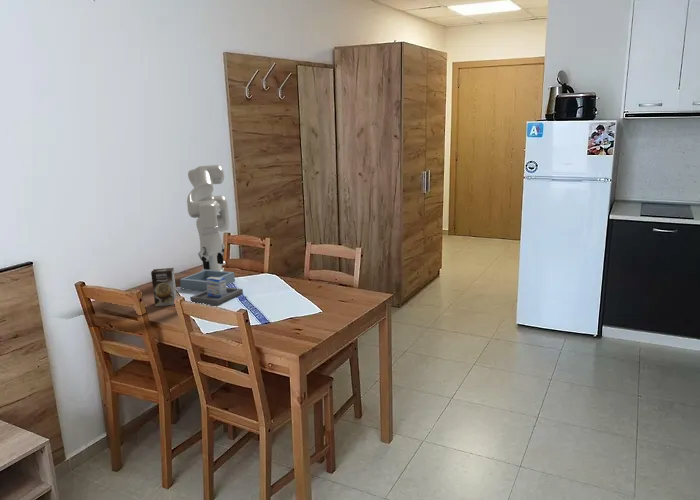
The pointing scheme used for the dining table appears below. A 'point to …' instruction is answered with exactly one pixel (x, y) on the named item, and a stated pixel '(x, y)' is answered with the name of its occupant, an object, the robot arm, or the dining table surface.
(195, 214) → the robot arm
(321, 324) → the dining table surface
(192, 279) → the deep square frame
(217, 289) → the medicine box
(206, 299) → the tray
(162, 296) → the coffee box
